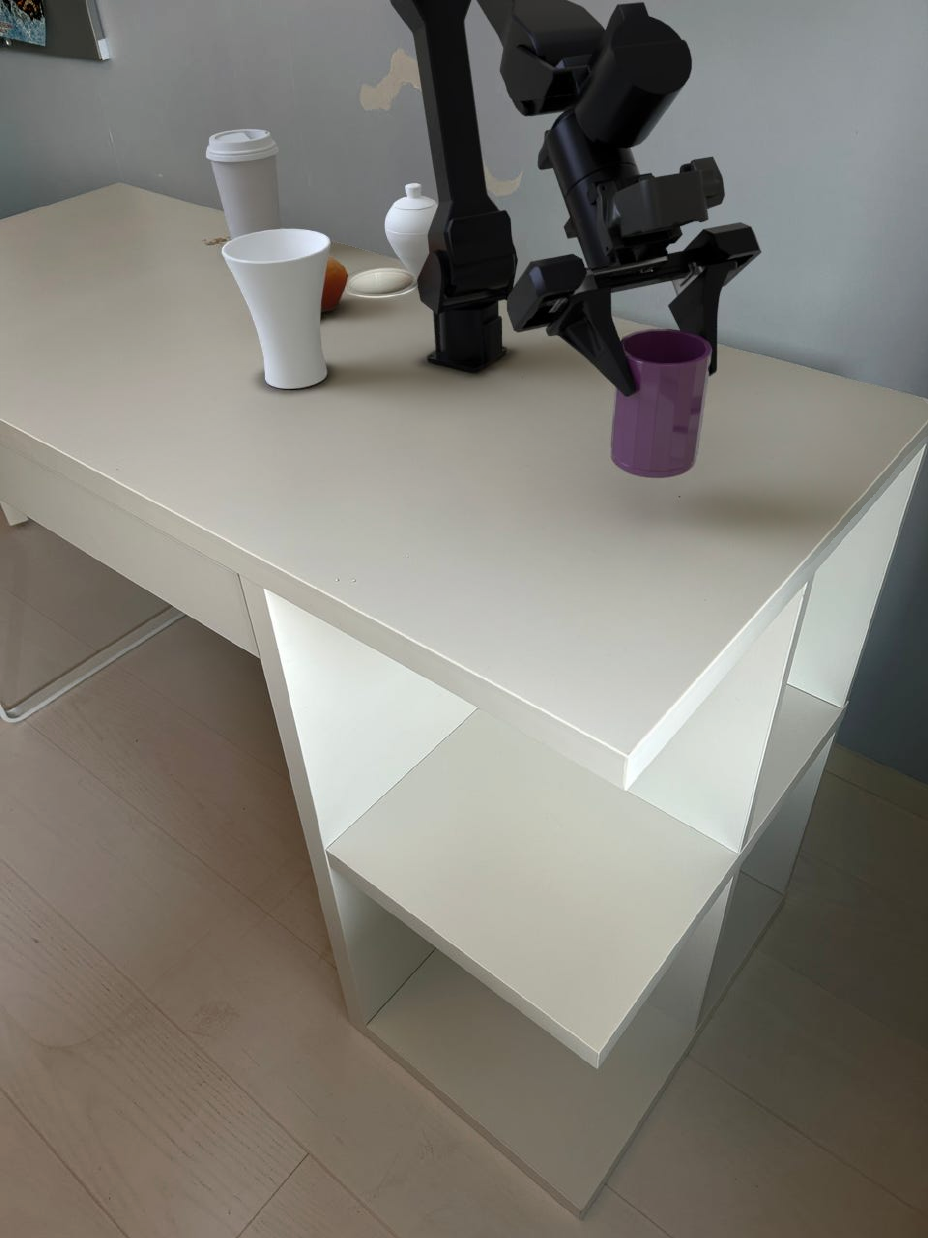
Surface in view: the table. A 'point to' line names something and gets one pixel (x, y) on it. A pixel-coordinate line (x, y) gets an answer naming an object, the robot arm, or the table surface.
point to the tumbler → (661, 403)
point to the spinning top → (411, 227)
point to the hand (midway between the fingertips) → (671, 384)
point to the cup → (284, 299)
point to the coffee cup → (246, 179)
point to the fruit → (333, 284)
